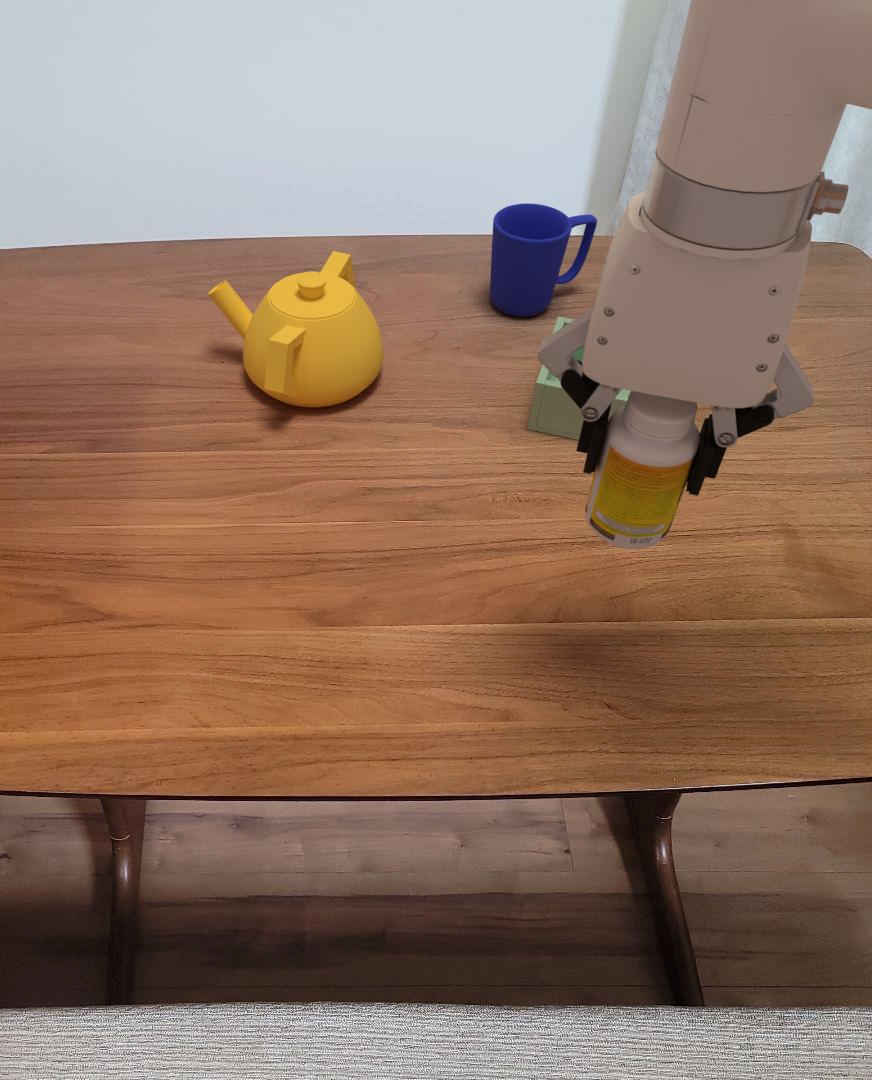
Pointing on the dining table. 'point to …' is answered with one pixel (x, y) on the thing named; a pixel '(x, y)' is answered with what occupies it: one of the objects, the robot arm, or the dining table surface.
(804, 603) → the dining table surface
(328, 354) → the teapot
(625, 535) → the supplement bottle
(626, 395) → the bin
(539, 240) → the mug
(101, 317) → the dining table surface
